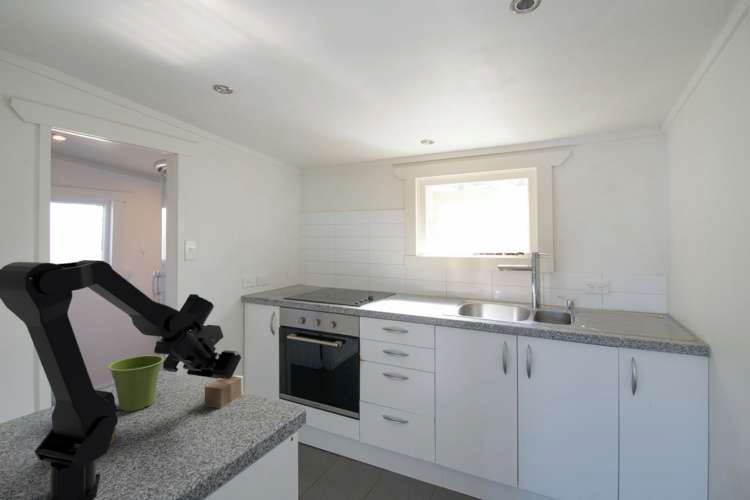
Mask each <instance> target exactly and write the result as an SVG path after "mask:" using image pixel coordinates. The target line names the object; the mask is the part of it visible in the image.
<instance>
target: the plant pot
mask: <svg viewBox="0 0 750 500" xmlns="http://www.w3.org/2000/svg"><path fill="white" fill-rule="evenodd" d="M164 361H165V357H163V356H162V355H159V354H158V355H157V354H156V355H155V354H152V355H151V354H150V355H147V354H146V355H138V356H133V357H132V356H131V357H128V358H123V359H119V360H117V361H114V362H112V363H110V364H109V365H108V366H107V367H108V370H110V372H111V376H112V379H113V382H114V385H115V391H116V395H117V400H118V404H119V405H118V406H119V410H120V411H124V412H134V411H140V410H143V409H145V408H146V407H150V406H151V405H153V404H154V402H155V397H156V390H157V387H158V386H157V385H158V378H159V375H160V370H161V367H162V363H163V362H164Z"/></svg>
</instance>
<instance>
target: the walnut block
mask: <svg viewBox="0 0 750 500" xmlns="http://www.w3.org/2000/svg"><path fill="white" fill-rule="evenodd" d="M242 395H244V375H236V374H233V376H232V377H231V378H230V379H223V378H218V379H216V380H215V381H213V382H211V383H209V384H207V385H205V386H204V406H205V407H210V408H216V409H222V408H224V407H226V406H227V405H229V404H230V403H232V402H233V401H235V400H236V399H238V398H240V397H241V396H242Z"/></svg>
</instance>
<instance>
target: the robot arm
mask: <svg viewBox="0 0 750 500" xmlns="http://www.w3.org/2000/svg"><path fill="white" fill-rule="evenodd" d="M86 288H88V289H90V290H91V291H92V292H94V293H95V294H97V295H98V296H100V297H102V298H103V299H104V300H106V301H108V302H109V303H111V304H112V305H113V306H114V307H116V308H117V309H119V310H121V311H122V312H124V313H125V314H126V315H128V316H129V317H130V318H131V321H132V324H133V326H134V327H135V328H136V329H137V330H138V331H139V332H140V333H141V334H142V335H144V336H151V337H160V339H159V340H157V341H155V347H154V351H153V353H154V354H158V355H159V354H161V355H166V358H164V361H163V362H162V363H163V365H162V367H163V369H164V370H165V371H167V372H171V373H177V372H178V371H179V368H178V367H177V366H178V365H179V363H180V362H181V363H183V366H182V368H183V369H184V370H187V372H186V374H187V375H189V376H196V377H203V378H209V379H216V380H218V379H220V378H223V379H230V378H231V377H232V376H233V375H234V373H235V372H236V369H237V367H238V366H239V363H240V361H241V359H242V356H241V354H240V353H239V352H238V351H235V350H226V349H225V350H223V351H221V353H219V352H216V349H217V347H216V345H217V344H218V343H219V342H220V340H223V338H224V334H223V330H222V328H221V326H220V325H217V324H216V325H215V324H207V325H204V324H205V322H206V321H207V320H208V318H209V316H210V315H211V313H212V311H213V309H215V308H214V307H215V306H214V304H213V302H211V301H209V300H207V299H206V298H203V297H200V296H199V294H197V293H196V294H195V293H194V294H193V293H190V294H189V295H188V297H187V298H186V300H185V302H184V303H183V305H182V306H181V308H180V309H179V310H178V309H175V308H174V307H171V306H169V305H166V304H163V303H160V302H157V301H155V300H153V299H151V298H150V297H149V296H148V295H146V294H145V293H144V292H143V291H141V290H140V289H139V288H138V287H136V286H135V285H134V284H133V283H131V282H130V281H129V280H127V279H126V278H125V277H124V276H122V275H121V274H120V273H118V272H117V271H116V270H115V269H113V267H112V265H111V264H109V263H108V262H106V261H104V260H99V259H98V260H95V259H93V260H92V259H83V260H79V261H73V262H65V263H63V262H62V263H53V262H36V261H35V262H34V261H15V262H14V261H13V262H10V263H8V264H5V265H4V266H2V268H0V300H1V301H2V304H4V306H5V307H6V308H7V309H8V310H9V311H10V312H12V313H13V314H14V315H15V316H16V317H17V318H18V319H19V320H20V321H22V322H23V323H24V325H25V326H26V328H27V331H28V333H29V337H30V338H31V341H32V345H33V346H34V348H35V352H36V354H37V356H38V359H39V361H40V364H41V367H42V369H43V371H44V374H45V376H46V379H47V381H48V384H49V387H50V389H51V392H52V394H53V396H54V400H55V405H54V408H53V410H52V411H53V412H52V413H51V422H52V423H51V424H52V428H51V429H50V431H49V432H48V433H47V434H46V436H45V437H44V438H43V439H42V441H41V442H40V444H39V445H38V446H37V448H36V449H35V450H34V453H35V455H36V457H37V460H38V461H41V462H43V461H44V462H48V463H49V479H50V480H49V492H48V495H47V498H46V499H45V500H94V499H95V498H96V497H97V495H98V490H99V485H100V481H101V474H100V473H97V471H96V469H97V463H96V462H97V460H98V459H99V458H102V457H103V456H104V455H106V454H108V451H109V447H110V446H111V445H110V442H111V439H112V435H113V432H114V429H115V430H116V426H117V425H118V421H119V420H118V413H119V412H120V411H121V409H120V408H118V407H117V405H116V401H115V395H114V394H113V392H112V391H105V390H99V389H95V387H94V385H93V382H92V379H91V377H90V374H89V371H88V368H87V366H86V363H85V360H84V358H83V354H82V352H81V349H80V346H79V343H78V339H77V337H76V335H75V331H74V328H73V326H72V324H71V320H70V317H69V313H68V312H69V309H70V305H71V303H72V300H73V297H74V296H73V291H78V290H82V289H86ZM109 445H110V446H109ZM96 473H97V474H96Z"/></svg>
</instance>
